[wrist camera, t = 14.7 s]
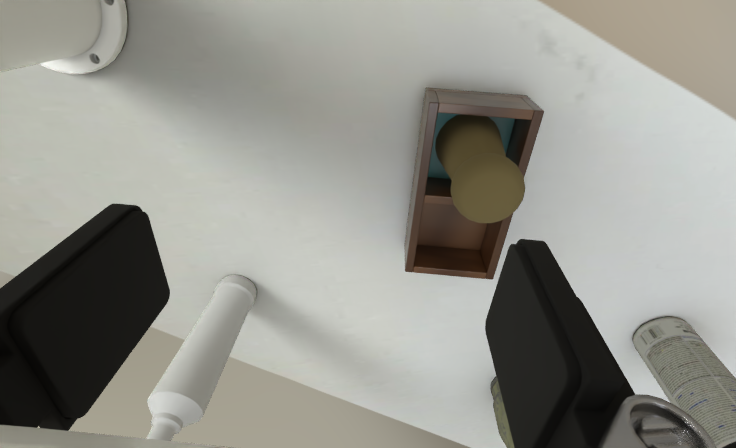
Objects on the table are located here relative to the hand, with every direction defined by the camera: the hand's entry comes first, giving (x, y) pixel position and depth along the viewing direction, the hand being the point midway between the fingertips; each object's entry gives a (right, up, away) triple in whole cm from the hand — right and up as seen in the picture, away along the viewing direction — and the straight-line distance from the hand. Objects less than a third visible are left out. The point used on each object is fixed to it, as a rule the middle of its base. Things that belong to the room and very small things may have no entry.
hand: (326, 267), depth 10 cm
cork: (+10, +9, +26) cm, 29 cm away
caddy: (+10, +6, +29) cm, 31 cm away
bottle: (-16, -7, +39) cm, 43 cm away
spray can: (+38, -13, +39) cm, 56 cm away
